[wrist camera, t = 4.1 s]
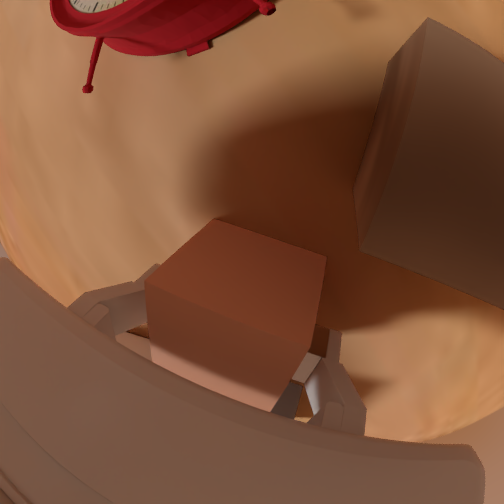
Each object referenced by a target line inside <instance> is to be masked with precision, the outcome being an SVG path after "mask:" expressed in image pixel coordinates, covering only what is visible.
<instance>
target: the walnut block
mask: <svg viewBox="0 0 504 504" xmlns="http://www.w3.org/2000/svg"><path fill="white" fill-rule="evenodd" d="M353 196H354V203H355V212H356V221H357V231H358V242H359V251H360V252H363V253H366V254H368V255H371V256H374V257H376V258H379V259H382V260H384V261H387V262H390V263H392V264H395V265H397V266H400V267H403V268H405V269H408V270H410V271H413V272H415V273H418V274H420V275H423V276H425V277H428V278H430V279H433V280H435V281H438V282H440V283H443V284H445V285H448V286H450V287H452V288H455V289H457V290H460V291H462V292H464V293H467V294H469V295H471V296H474V297H476V298H478V299H480V300H483V301H485V302H487V303H490V304H492V305H494V306H496V307H499V308H501V309H503V310H504V63H503V62H502V61H500V60H499V59H498V58H496V57H495V56H493V55H492V54H491V53H489V52H488V51H486V50H485V49H483V48H482V47H480V46H479V45H477V44H476V43H474V42H472V41H471V40H469V39H468V38H466V37H464V36H463V35H461V34H459V33H457V32H456V31H454V30H452V29H450V28H448V27H446V26H444V25H443V24H441V23H439V22H437V21H435V20H432V19H430V18H427V19H426V20H425V21H424V22H423V23H422V24H421V26H420V27H419V28H418V29H417V30H416V31H415V32H414V33H413V35H412V36H411V37H410V38H409V39H408V40H407V41H406V43H405V44H404V45H403V46H402V47H401V48H400V50H399V51H398V52H397V53H396V54H395V55H394V56H393V58H392V59H391V60H390V61H389V62H388V66H387V71H386V75H385V79H384V83H383V88H382V92H381V96H380V99H379V103H378V107H377V111H376V114H375V118H374V122H373V125H372V129H371V132H370V136H369V139H368V142H367V146H366V149H365V152H364V155H363V159H362V162H361V165H360V168H359V171H358V174H357V177H356V180H355V183H354V186H353Z"/></svg>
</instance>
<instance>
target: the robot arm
mask: <svg viewBox="0 0 504 504" xmlns="http://www.w3.org/2000/svg"><path fill="white" fill-rule="evenodd" d="M160 266H161V265H160V264H154V265H153V266H152V267H151V268H150V269H149V270H148V271H146V272H145V273H144V274H143V275H142V276H141V277H140V278H139V279H137V280H136V281H135V282H132V281H131V282H127V283H123V284H118V285H114V286H110V287H106V288H102V289H98V290H93V291H89V292H85V293H84V294H83V295H81V296H80V297H79V298H78V299H77V300H76V301H74V302H73V303H72V304H71V305H70V306H69V307H68V308H66V307H65V306H64V305H62V304H61V303H60V302H58V301H57V300H56V299H54V298H53V297H52V296H51V295H49V294H48V293H47V292H46V291H44V290H43V289H42V288H41V287H39V286H38V285H37V284H36V283H35V282H33V281H32V280H31V279H30V278H29V277H28V276H27V275H25V274H24V273H23V272H22V271H21V270H20V269H19V268H18V267H16V266H15V265H14V264H13V263H12V262H11V261H10V260H9V259H8V258H5V257H2V258H0V504H483V503H484V492H485V470H484V467H483V465H482V463H481V461H480V459H479V457H478V456H477V454H476V452H475V451H474V449H473V448H472V447H471V446H470V445H467V444H430V443H416V442H405V441H396V440H388V439H381V438H374V437H368V436H364V432H365V422H366V410H367V409H366V407H365V405H364V403H363V402H362V400H361V398H360V396H359V394H358V392H357V390H356V388H355V387H354V385H353V383H352V381H351V379H350V377H349V375H348V374H347V372H346V370H345V368H344V366H343V364H341V363H339V357H340V348H341V337H342V333H341V332H339V331H336V330H333V329H329V328H326V327H323V326H320V325H317V324H315V328H314V332H313V337H312V342H311V346H310V349H309V350H308V352H307V354H306V355H305V357H304V359H303V361H302V362H301V364H300V366H299V367H298V369H297V371H296V372H295V374H294V376H293V377H292V379H293V380H296V381H299V382H302V383H305V384H304V386H305V389H306V392H307V395H308V398H309V401H310V404H311V407H312V411H313V414H314V416H313V417H312V418H311V419H310V420H309V421H308V422H307V423H304V422H301V421H297V420H294V419H290V418H287V417H284V416H280V415H277V414H274V413H271V412H268V411H265V410H262V409H259V408H256V407H253V406H251V405H248V404H245V403H242V402H240V401H237V400H234V399H232V398H229V397H227V396H224V395H222V394H219V393H217V392H215V391H212V390H210V389H208V388H205V387H203V386H201V385H198V384H196V383H194V382H192V381H190V380H188V379H185V378H183V377H181V376H179V375H177V374H175V373H173V372H171V371H169V370H167V369H165V368H163V367H161V366H159V365H157V364H156V363H154V362H152V361H150V360H148V359H146V358H144V357H143V356H141V355H139V354H137V353H136V352H134V351H132V350H130V349H129V348H127V347H125V346H123V345H122V344H120V343H119V342H117V341H116V338H115V336H116V335H119V334H121V333H123V332H126V331H128V330H130V329H133V328H135V327H138V326H140V325H142V324H145V323H147V312H146V301H145V286H144V280H145V279H147V278H148V277H149V276H150V275H151V274H152V273H153V272H154V271H155V270H156V269H157V268H158V267H160Z"/></svg>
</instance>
